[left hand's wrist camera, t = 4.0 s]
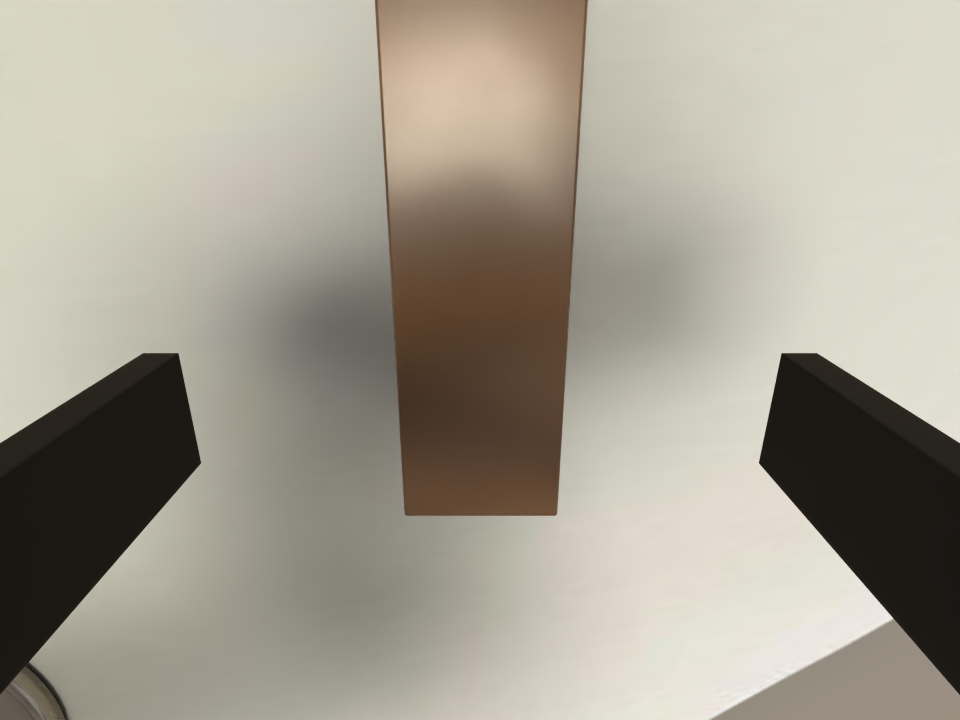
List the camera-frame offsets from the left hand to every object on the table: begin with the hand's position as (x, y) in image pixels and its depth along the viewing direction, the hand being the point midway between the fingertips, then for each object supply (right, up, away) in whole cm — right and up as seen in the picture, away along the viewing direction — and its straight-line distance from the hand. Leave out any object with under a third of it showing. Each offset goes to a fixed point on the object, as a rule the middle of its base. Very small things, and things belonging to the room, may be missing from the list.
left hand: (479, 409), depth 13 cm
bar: (0, +23, +5) cm, 24 cm away
